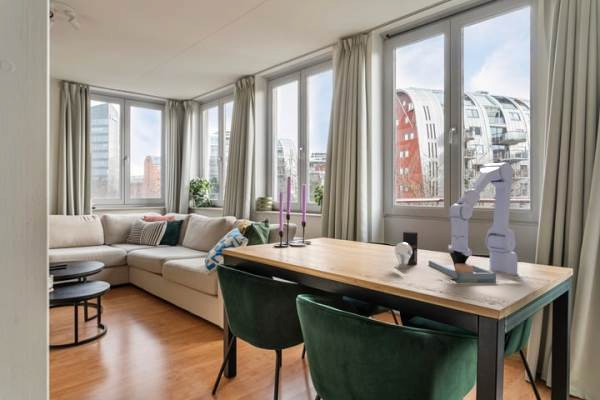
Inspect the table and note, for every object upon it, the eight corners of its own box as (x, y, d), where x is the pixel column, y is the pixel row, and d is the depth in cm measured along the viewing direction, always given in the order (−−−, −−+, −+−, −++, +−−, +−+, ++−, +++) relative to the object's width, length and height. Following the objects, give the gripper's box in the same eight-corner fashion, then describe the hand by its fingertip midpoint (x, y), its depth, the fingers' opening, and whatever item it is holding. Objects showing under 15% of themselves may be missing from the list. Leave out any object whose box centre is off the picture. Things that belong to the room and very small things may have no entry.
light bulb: (393, 272, 151) (393, 242, 151) (395, 269, 158) (395, 240, 157) (411, 274, 149) (411, 243, 148) (412, 270, 155) (413, 241, 155)
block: (466, 275, 140) (467, 263, 140) (473, 278, 135) (473, 265, 135) (455, 275, 140) (455, 263, 139) (460, 278, 135) (461, 265, 135)
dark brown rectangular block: (414, 269, 158) (415, 233, 158) (400, 267, 161) (401, 232, 161) (418, 266, 163) (419, 232, 163) (405, 265, 166) (405, 231, 166)
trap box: (460, 268, 161) (460, 260, 161) (496, 283, 135) (496, 273, 135) (428, 268, 160) (428, 260, 160) (457, 283, 134) (458, 273, 134)
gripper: (440, 233, 148) (440, 268, 148) (458, 238, 134) (457, 276, 134) (458, 233, 149) (457, 268, 149) (477, 238, 134) (477, 276, 134)
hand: (459, 272), depth 141 cm, fingers closed
